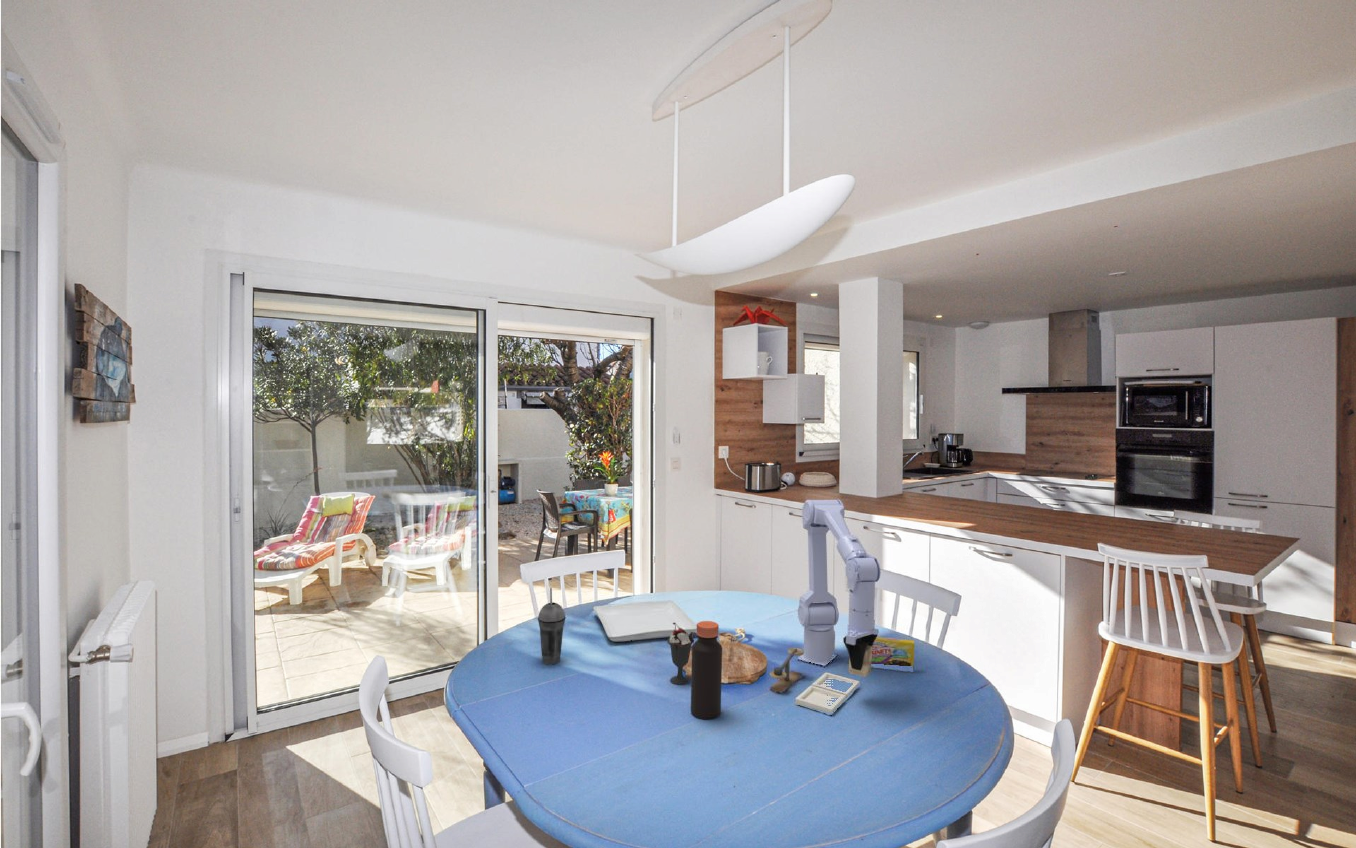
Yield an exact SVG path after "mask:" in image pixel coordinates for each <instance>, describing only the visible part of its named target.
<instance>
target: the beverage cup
mask: <svg viewBox="0 0 1356 848" xmlns="http://www.w3.org/2000/svg"><path fill="white" fill-rule="evenodd" d="M538 612H539V613H538V617H537V621H538V622H537V623H538V627H539V635H540V648H541V659H542V663H543V664H544V665H548V664H552V665H557V664H559V663H560V661H561V660H560V659H561V654H562V644H563V634H564V626H565V622H566V613H565V610H564V608H563V606H562V605H560V604H559V603H557V602H553V589H552V587H550V588H549V602H548V603H546V604H544V605H542V607H541V608H540V611H538ZM558 662H559V663H558Z"/></svg>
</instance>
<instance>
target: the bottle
mask: <svg viewBox="0 0 1356 848" xmlns="http://www.w3.org/2000/svg"><path fill="white" fill-rule="evenodd" d="M696 625H697V630H696V638H697V640H696V641H694V643H692V645H691V675H690V676H691V677H690V678H691V680H690V681H691V683H690V686H691V687H690V712H691V714H692V716H693V717H696V718H698V719H700V720H701V719H702V720H712V719H716V718H717V717H719V716H720V714H721V711H722V677H723V676H722V673H723V671H722V670H723V667H722V665H723V646H722V645H721V644H720V642H719V641H718V637H719V626H720V625H719V624H718V623H717V622H715V621H712V620H711V621H710V620H703V621H699V622H697V623H696Z"/></svg>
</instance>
